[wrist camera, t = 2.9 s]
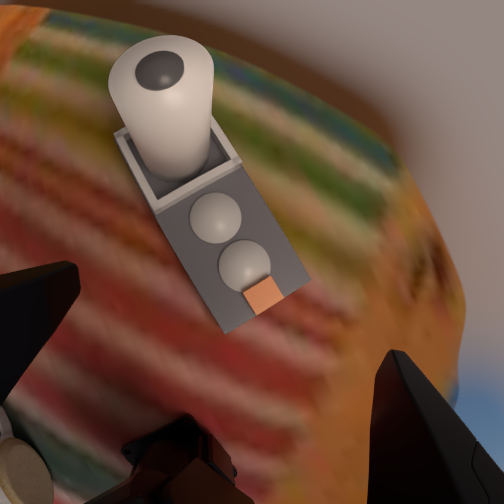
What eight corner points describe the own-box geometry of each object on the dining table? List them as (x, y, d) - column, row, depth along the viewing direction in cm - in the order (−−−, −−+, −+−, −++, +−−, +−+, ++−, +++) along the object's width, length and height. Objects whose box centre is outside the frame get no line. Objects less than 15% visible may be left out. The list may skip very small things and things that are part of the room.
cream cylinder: (162, 195, 20) (130, 133, 10) (133, 142, 20) (93, 61, 10) (221, 162, 20) (234, 82, 11) (190, 112, 20) (185, 19, 11)
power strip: (304, 279, 22) (316, 279, 19) (224, 330, 21) (226, 337, 18) (196, 105, 22) (196, 88, 19) (119, 146, 21) (110, 132, 18)
